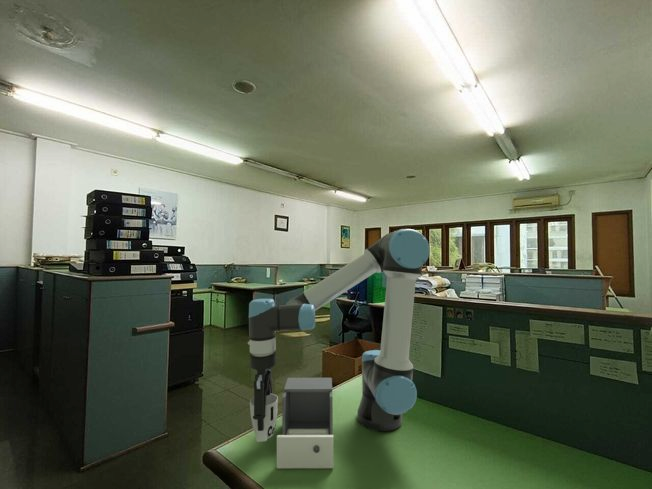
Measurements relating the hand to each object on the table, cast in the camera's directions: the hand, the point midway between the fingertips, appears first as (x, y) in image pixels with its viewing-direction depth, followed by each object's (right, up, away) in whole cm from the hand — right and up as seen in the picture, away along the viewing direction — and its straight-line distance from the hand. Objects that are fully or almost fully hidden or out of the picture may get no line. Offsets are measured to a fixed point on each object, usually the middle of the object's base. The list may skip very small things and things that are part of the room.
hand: (264, 431), depth 89 cm
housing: (+12, -6, +7) cm, 15 cm away
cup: (0, -1, 0) cm, 1 cm away
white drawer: (+12, -5, -1) cm, 13 cm away
